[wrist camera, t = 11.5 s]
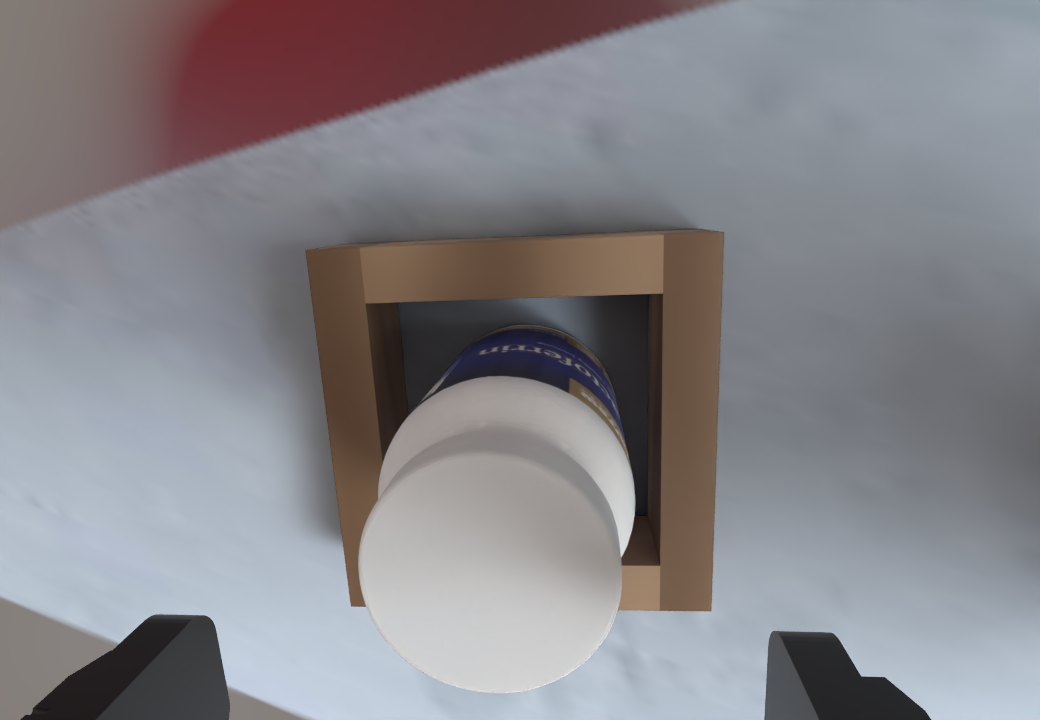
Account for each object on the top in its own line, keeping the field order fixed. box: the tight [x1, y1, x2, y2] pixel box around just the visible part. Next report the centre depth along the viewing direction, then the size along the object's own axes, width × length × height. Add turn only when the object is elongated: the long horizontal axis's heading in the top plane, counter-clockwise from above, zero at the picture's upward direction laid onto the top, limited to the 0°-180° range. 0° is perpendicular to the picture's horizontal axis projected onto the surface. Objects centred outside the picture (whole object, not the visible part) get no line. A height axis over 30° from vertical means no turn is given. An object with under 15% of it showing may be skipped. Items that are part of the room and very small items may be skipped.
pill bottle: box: [358, 325, 635, 693], centre depth 15 cm, size 6×6×10 cm
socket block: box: [306, 229, 724, 611], centre depth 19 cm, size 11×11×3 cm
